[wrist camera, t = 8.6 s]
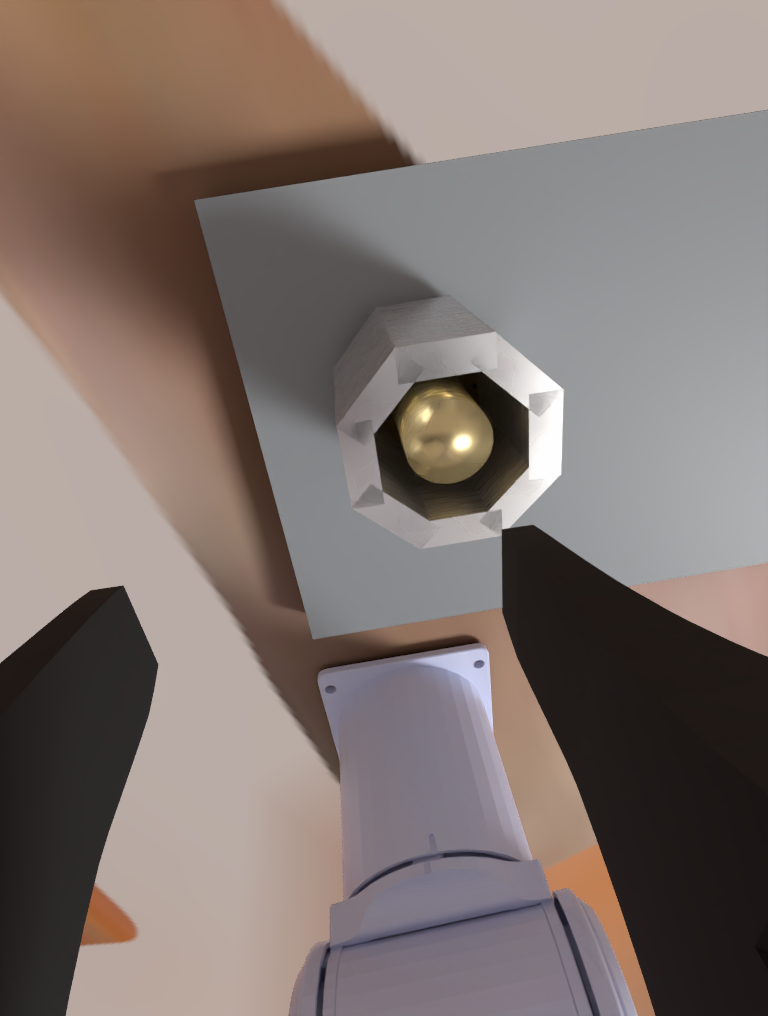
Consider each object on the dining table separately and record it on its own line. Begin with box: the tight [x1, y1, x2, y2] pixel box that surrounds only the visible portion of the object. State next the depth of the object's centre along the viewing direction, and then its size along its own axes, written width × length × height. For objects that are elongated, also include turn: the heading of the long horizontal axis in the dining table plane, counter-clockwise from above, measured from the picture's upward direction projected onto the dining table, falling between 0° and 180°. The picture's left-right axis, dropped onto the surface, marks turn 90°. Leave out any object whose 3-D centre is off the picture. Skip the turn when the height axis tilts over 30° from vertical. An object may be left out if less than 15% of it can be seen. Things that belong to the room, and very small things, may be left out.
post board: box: [194, 110, 768, 639], centre depth 17 cm, size 16×23×6 cm
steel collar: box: [333, 295, 564, 550], centre depth 15 cm, size 5×5×5 cm
